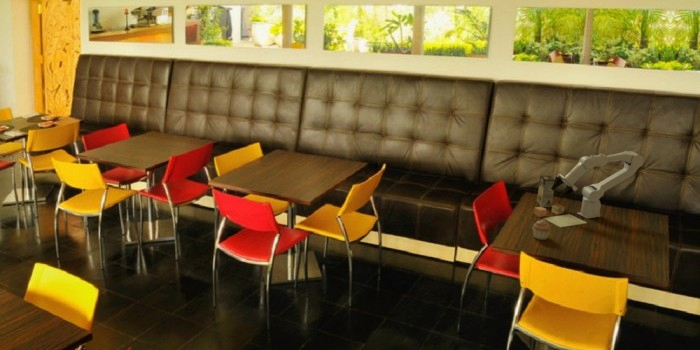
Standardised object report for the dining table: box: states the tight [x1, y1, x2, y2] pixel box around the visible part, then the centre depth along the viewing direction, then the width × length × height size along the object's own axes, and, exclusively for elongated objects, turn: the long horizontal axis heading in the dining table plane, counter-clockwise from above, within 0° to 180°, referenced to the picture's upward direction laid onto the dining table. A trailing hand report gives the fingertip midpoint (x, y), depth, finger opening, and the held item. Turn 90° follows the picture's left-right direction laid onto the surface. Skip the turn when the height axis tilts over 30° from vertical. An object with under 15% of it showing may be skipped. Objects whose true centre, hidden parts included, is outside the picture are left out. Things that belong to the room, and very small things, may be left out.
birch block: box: [550, 203, 565, 215], centre depth 329 cm, size 4×4×4 cm
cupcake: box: [531, 218, 552, 241], centre depth 293 cm, size 9×9×10 cm
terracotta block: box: [533, 206, 548, 218], centre depth 324 cm, size 4×4×4 cm
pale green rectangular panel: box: [542, 213, 588, 228], centre depth 317 cm, size 18×13×1 cm
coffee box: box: [536, 175, 555, 208], centre depth 339 cm, size 9×6×16 cm
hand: (556, 193), depth 321 cm, fingers open, 7 cm apart
